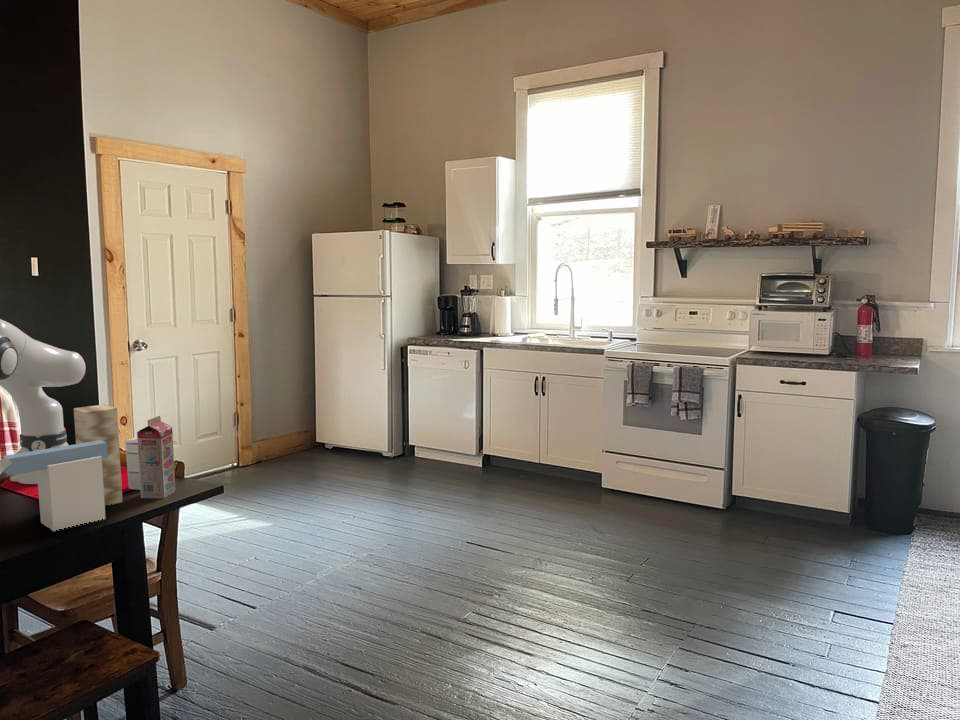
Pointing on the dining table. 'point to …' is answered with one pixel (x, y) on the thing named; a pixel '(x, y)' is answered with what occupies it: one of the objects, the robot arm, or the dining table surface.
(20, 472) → the bar
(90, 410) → the post
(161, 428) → the juice carton
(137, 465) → the syrup box
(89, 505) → the cream block
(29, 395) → the robot arm
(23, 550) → the dining table surface
